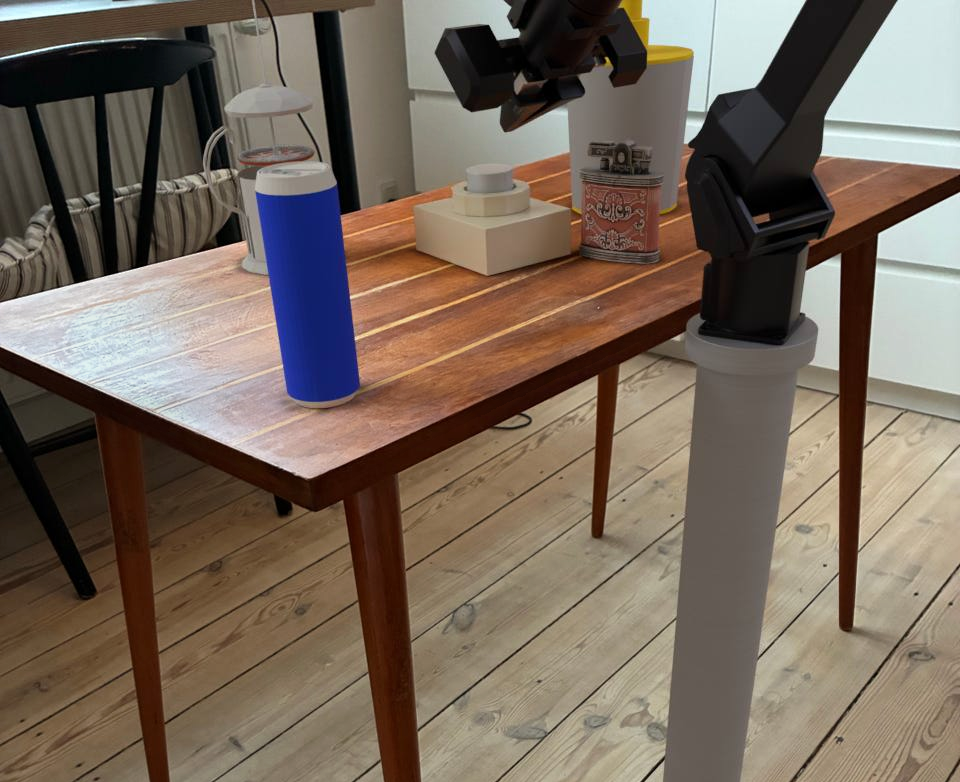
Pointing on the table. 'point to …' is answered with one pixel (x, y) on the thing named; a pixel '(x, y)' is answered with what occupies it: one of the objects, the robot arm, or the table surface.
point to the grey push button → (489, 178)
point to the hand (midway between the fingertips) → (505, 127)
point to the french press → (259, 154)
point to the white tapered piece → (635, 112)
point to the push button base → (493, 229)
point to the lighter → (620, 204)
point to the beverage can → (308, 281)
